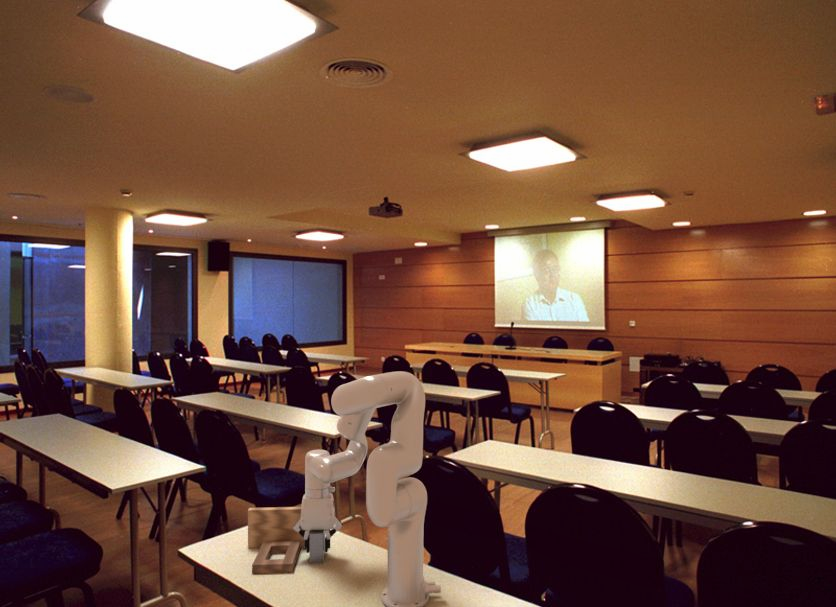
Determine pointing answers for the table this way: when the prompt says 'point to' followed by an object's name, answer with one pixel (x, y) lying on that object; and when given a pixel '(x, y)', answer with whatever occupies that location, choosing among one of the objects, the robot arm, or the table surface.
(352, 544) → the table surface
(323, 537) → the tall grey rectangular prism
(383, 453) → the robot arm
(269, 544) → the wooden backboard stand
